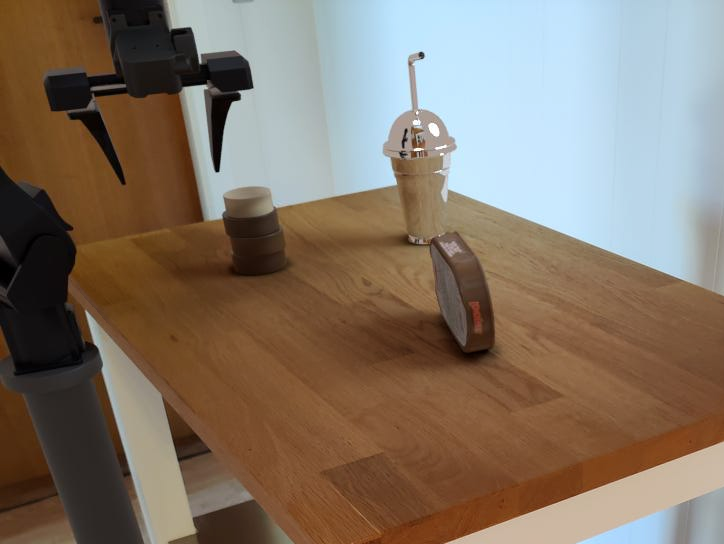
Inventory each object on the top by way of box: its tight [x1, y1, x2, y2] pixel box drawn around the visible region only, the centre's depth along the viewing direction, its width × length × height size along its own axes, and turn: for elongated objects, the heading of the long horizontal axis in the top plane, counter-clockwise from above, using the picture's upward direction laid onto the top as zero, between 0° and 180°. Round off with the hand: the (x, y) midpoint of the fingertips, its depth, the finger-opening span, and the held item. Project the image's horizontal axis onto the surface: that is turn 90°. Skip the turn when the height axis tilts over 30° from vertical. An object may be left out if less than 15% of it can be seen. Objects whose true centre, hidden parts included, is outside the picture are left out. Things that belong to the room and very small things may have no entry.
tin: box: [429, 230, 496, 354], centre depth 91 cm, size 15×3×8 cm, turn 14°
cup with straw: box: [381, 51, 458, 245], centre depth 112 cm, size 8×9×20 cm
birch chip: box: [222, 185, 274, 218], centre depth 109 cm, size 5×5×2 cm
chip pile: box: [221, 205, 288, 276], centre depth 112 cm, size 6×6×6 cm
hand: (171, 178), depth 99 cm, fingers open, 9 cm apart
